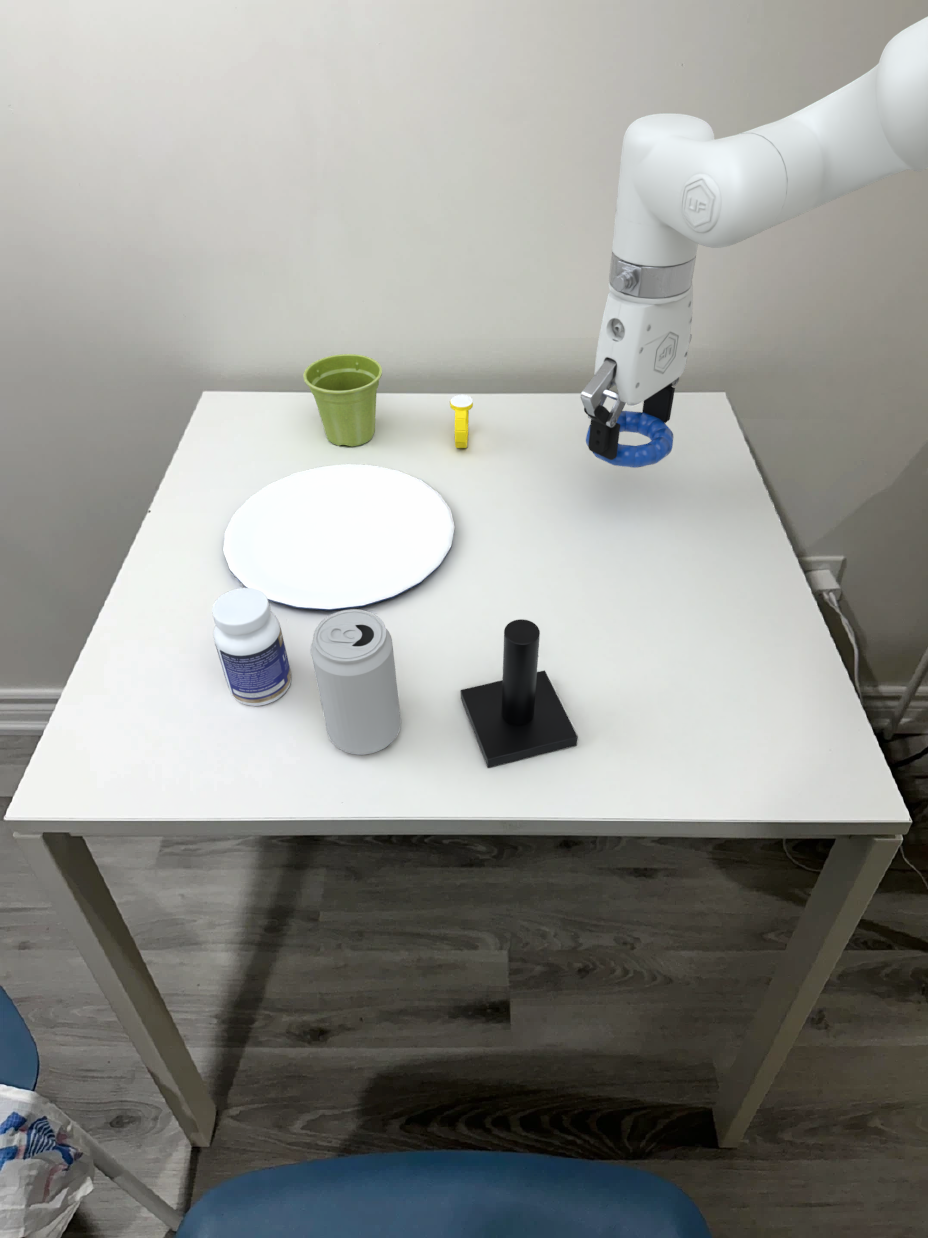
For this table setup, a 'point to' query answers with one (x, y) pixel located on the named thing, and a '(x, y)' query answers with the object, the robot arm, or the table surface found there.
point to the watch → (461, 418)
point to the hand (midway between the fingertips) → (629, 435)
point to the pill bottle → (250, 647)
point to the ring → (645, 452)
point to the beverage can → (356, 681)
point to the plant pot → (345, 396)
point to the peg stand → (518, 704)
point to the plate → (339, 536)
